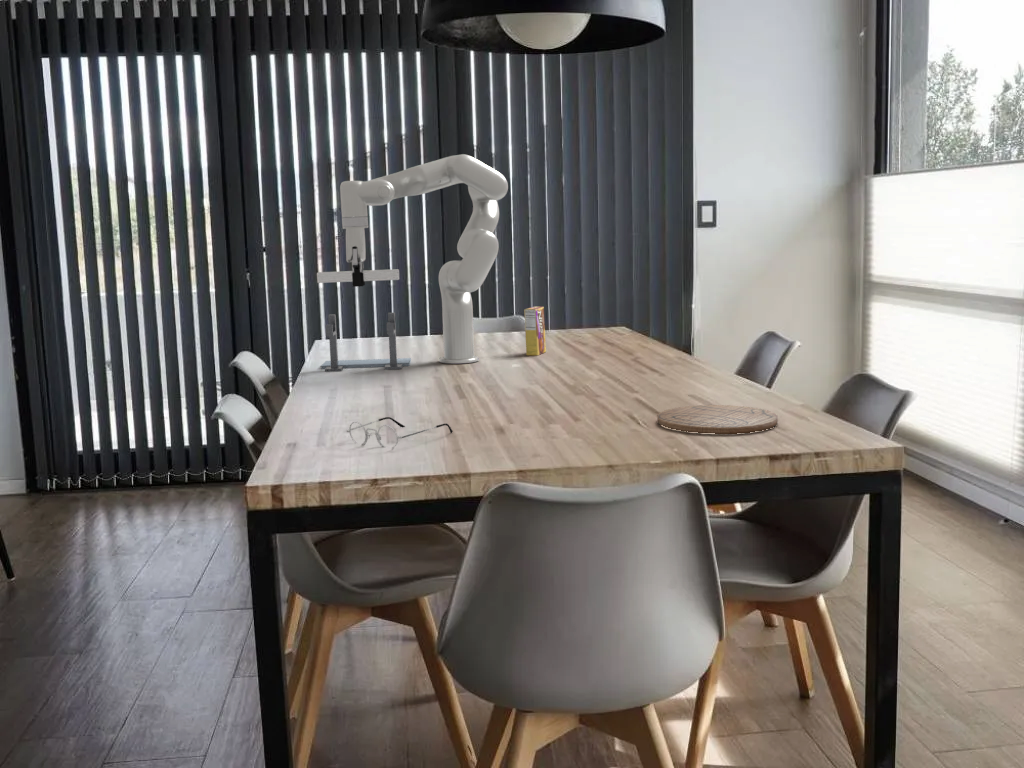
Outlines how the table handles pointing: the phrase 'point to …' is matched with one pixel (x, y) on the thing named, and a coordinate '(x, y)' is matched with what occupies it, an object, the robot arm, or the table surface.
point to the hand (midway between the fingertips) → (358, 285)
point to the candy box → (535, 331)
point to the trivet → (717, 419)
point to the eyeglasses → (390, 427)
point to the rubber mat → (367, 363)
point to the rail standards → (334, 352)
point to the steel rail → (367, 276)
